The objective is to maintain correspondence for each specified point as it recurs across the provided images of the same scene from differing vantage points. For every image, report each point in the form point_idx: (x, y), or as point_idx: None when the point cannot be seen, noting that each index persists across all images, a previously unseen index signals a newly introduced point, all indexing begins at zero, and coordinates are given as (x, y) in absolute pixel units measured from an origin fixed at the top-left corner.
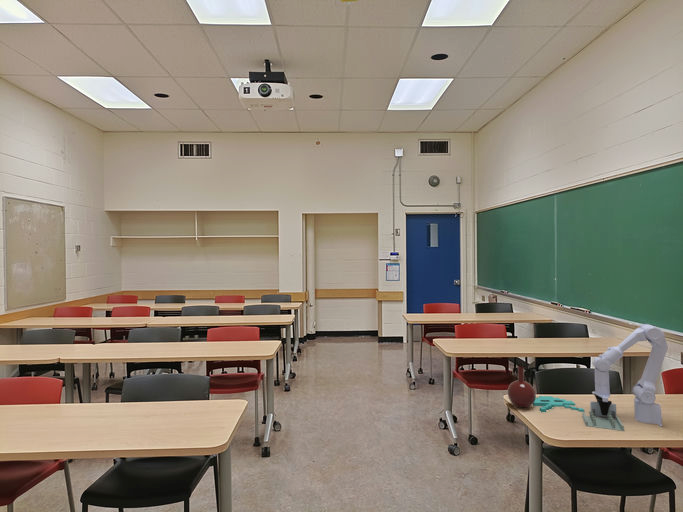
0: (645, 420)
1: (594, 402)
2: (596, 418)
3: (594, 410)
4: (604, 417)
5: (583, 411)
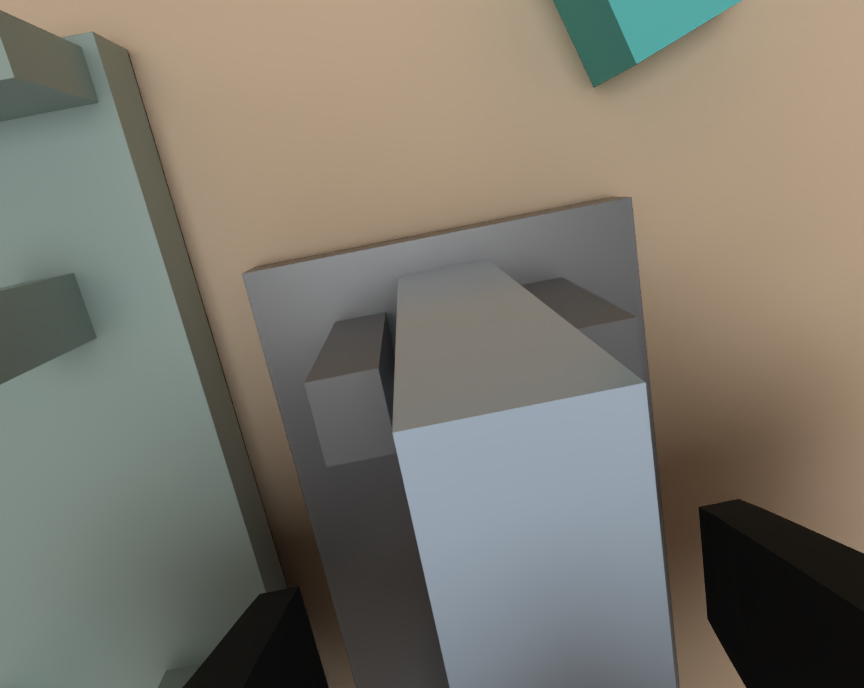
0: None
1: (448, 660)
2: (105, 433)
3: (330, 435)
4: (373, 577)
5: (601, 44)
